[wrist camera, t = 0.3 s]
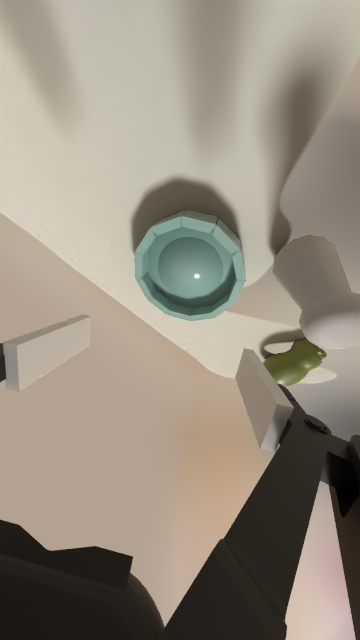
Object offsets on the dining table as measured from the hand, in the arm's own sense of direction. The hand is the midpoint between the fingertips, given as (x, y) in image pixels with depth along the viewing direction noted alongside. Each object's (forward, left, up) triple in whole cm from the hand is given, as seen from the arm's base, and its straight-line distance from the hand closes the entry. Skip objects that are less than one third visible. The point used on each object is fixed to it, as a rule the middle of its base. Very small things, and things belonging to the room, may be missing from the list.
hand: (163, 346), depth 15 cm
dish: (0, 0, -14) cm, 14 cm away
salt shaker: (-5, +12, -15) cm, 19 cm away
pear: (+11, +20, -15) cm, 27 cm away
